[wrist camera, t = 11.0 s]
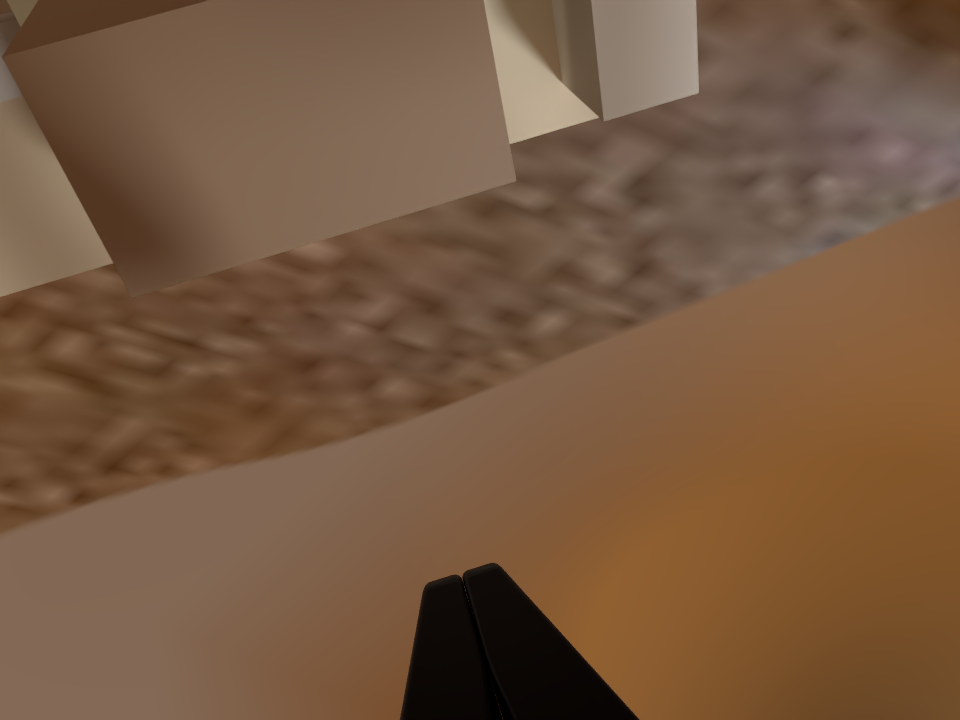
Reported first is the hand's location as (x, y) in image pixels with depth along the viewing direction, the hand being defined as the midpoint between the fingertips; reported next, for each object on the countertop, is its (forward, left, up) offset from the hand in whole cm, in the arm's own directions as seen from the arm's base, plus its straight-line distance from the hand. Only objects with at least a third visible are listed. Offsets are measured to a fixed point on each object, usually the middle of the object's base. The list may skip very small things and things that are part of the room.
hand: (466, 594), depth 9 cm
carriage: (0, -4, -10) cm, 11 cm away
